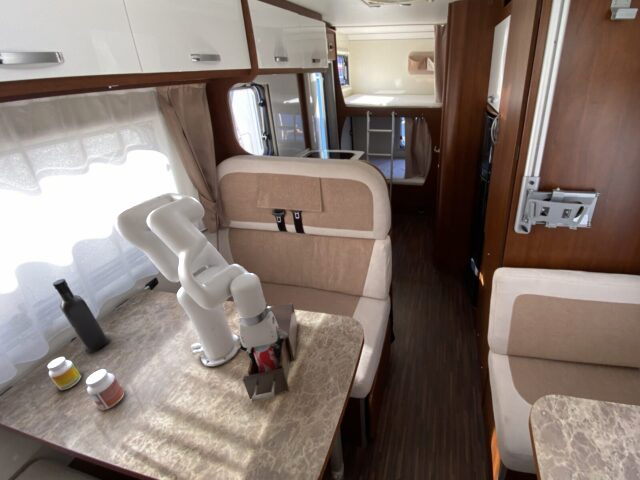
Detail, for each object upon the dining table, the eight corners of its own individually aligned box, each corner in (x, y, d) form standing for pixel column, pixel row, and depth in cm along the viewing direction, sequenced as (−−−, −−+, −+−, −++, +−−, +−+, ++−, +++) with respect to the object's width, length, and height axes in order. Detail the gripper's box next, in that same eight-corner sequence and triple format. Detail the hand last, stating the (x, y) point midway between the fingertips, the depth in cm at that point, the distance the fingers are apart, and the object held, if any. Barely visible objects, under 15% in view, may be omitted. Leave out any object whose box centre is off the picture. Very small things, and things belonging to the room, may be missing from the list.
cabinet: (294, 359, 103) (288, 337, 99) (255, 367, 101) (248, 344, 97) (297, 323, 117) (292, 303, 113) (263, 330, 115) (257, 309, 111)
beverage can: (274, 382, 93) (266, 355, 88) (256, 378, 95) (247, 352, 90) (284, 363, 99) (277, 337, 94) (267, 360, 100) (259, 334, 95)
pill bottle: (127, 386, 97) (112, 363, 93) (121, 404, 92) (106, 380, 88) (103, 395, 95) (87, 372, 90) (95, 414, 90) (78, 390, 85)
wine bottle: (90, 354, 110) (49, 289, 98) (85, 347, 112) (44, 284, 100) (109, 342, 114) (72, 279, 102) (104, 336, 117) (67, 274, 105)
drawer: (287, 407, 88) (281, 387, 84) (246, 416, 86) (238, 396, 83) (292, 350, 105) (288, 332, 102) (258, 357, 103) (253, 338, 100)
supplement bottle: (84, 378, 101) (71, 358, 97) (63, 393, 96) (48, 372, 93) (76, 372, 103) (63, 352, 99) (56, 386, 99) (41, 366, 95)
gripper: (285, 298, 91) (295, 340, 99) (225, 309, 89) (240, 351, 96) (283, 317, 85) (293, 361, 92) (217, 329, 82) (234, 373, 89)
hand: (266, 355), depth 94 cm, fingers closed on beverage can, 6 cm apart
